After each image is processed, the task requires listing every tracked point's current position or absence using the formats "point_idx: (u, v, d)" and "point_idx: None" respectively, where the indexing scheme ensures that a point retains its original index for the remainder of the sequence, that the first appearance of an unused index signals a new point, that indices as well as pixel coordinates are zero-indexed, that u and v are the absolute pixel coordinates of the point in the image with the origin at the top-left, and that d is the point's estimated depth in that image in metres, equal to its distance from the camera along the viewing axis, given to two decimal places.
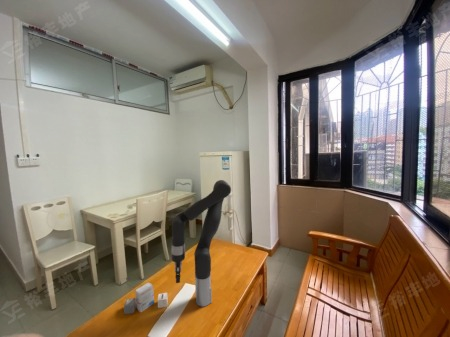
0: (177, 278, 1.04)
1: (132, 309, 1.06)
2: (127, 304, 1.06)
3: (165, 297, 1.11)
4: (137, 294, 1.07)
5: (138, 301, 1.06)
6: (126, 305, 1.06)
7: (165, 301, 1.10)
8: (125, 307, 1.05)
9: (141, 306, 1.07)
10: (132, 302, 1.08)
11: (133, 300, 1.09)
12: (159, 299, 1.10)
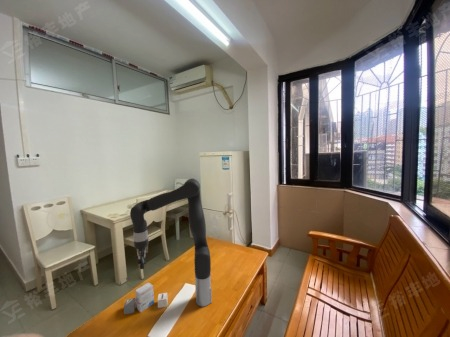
0: (140, 264, 1.05)
1: (132, 309, 1.06)
2: (127, 304, 1.06)
3: (165, 297, 1.11)
4: (137, 294, 1.07)
5: (138, 301, 1.06)
6: (126, 305, 1.06)
7: (165, 301, 1.10)
8: (125, 307, 1.05)
9: (141, 306, 1.07)
10: (132, 302, 1.08)
11: (133, 300, 1.09)
12: (159, 299, 1.10)
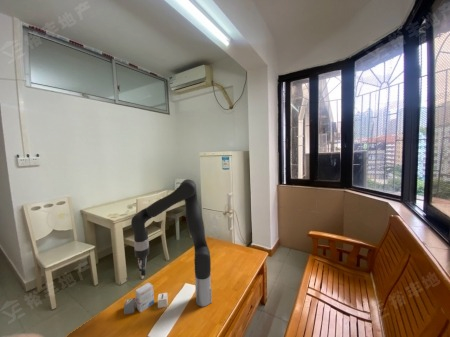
0: (142, 271, 1.07)
1: (132, 309, 1.06)
2: (127, 304, 1.06)
3: (165, 297, 1.11)
4: (137, 294, 1.07)
5: (138, 301, 1.06)
6: (126, 305, 1.06)
7: (165, 301, 1.10)
8: (125, 307, 1.05)
9: (141, 306, 1.07)
10: (132, 302, 1.08)
11: (133, 300, 1.09)
12: (159, 299, 1.10)
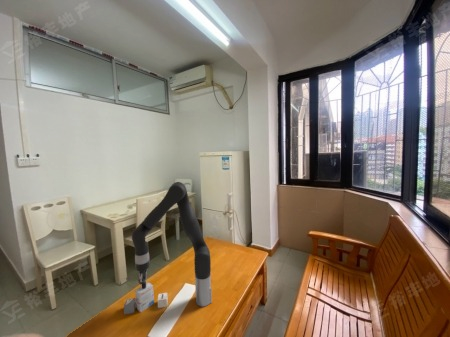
0: (142, 284, 1.08)
1: (132, 309, 1.06)
2: (127, 304, 1.06)
3: (165, 297, 1.11)
4: (137, 294, 1.07)
5: (138, 301, 1.06)
6: (126, 305, 1.06)
7: (165, 301, 1.10)
8: (125, 307, 1.05)
9: (141, 306, 1.07)
10: (132, 302, 1.08)
11: (133, 300, 1.09)
12: (159, 299, 1.10)
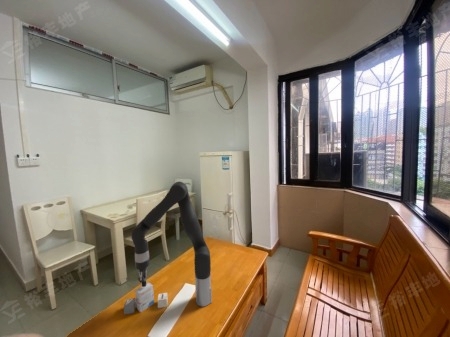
0: (143, 282, 1.08)
1: (132, 309, 1.06)
2: (127, 304, 1.06)
3: (165, 297, 1.11)
4: (137, 294, 1.07)
5: (138, 301, 1.06)
6: (126, 305, 1.06)
7: (165, 301, 1.10)
8: (125, 307, 1.05)
9: (141, 306, 1.07)
10: (132, 302, 1.08)
11: (133, 300, 1.09)
12: (159, 299, 1.10)
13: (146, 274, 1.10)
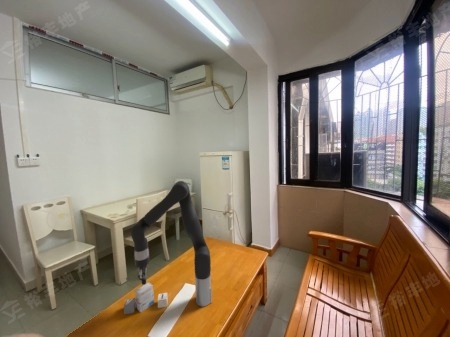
0: (142, 280, 1.08)
1: (132, 309, 1.06)
2: (127, 304, 1.06)
3: (165, 297, 1.11)
4: (137, 294, 1.07)
5: (138, 301, 1.06)
6: (126, 305, 1.06)
7: (165, 301, 1.10)
8: (125, 307, 1.05)
9: (141, 306, 1.07)
10: (132, 302, 1.08)
11: (133, 300, 1.09)
12: (159, 299, 1.10)
13: (146, 272, 1.09)
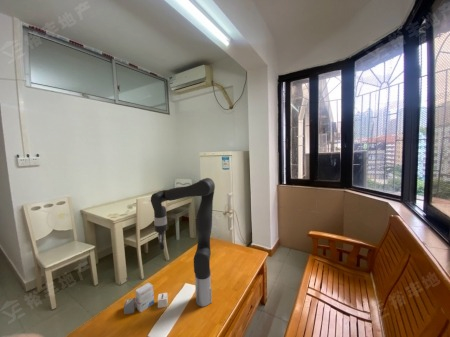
0: (161, 245, 1.18)
1: (132, 309, 1.06)
2: (127, 304, 1.06)
3: (165, 297, 1.11)
4: (137, 294, 1.07)
5: (138, 301, 1.06)
6: (126, 305, 1.06)
7: (165, 301, 1.10)
8: (125, 307, 1.05)
9: (141, 306, 1.07)
10: (132, 302, 1.08)
11: (133, 300, 1.09)
12: (159, 299, 1.10)
13: (164, 238, 1.19)
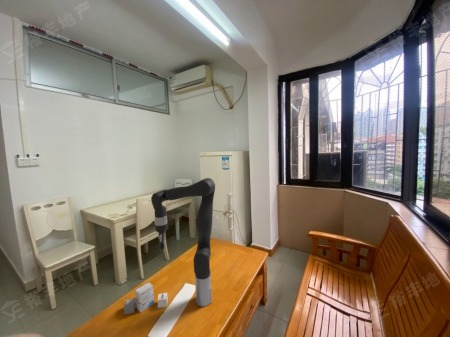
0: (161, 245, 1.18)
1: (132, 309, 1.06)
2: (127, 304, 1.06)
3: (165, 297, 1.11)
4: (137, 294, 1.07)
5: (138, 301, 1.06)
6: (126, 305, 1.06)
7: (165, 301, 1.10)
8: (125, 307, 1.05)
9: (141, 306, 1.07)
10: (132, 302, 1.08)
11: (133, 300, 1.09)
12: (159, 299, 1.10)
13: (164, 238, 1.19)
